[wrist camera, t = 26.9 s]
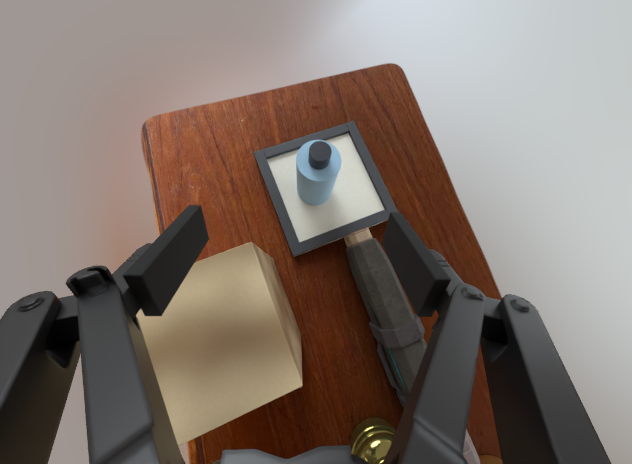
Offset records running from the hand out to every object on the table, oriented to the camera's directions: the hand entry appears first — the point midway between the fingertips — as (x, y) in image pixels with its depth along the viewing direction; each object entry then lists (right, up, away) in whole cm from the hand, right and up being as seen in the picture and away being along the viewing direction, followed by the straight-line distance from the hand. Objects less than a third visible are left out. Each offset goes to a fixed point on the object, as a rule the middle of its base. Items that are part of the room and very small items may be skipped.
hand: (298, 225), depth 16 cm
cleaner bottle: (+1, +6, +20) cm, 21 cm away
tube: (+12, -15, +18) cm, 26 cm away
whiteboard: (+3, +7, +22) cm, 23 cm away
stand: (-9, -12, +17) cm, 22 cm away
